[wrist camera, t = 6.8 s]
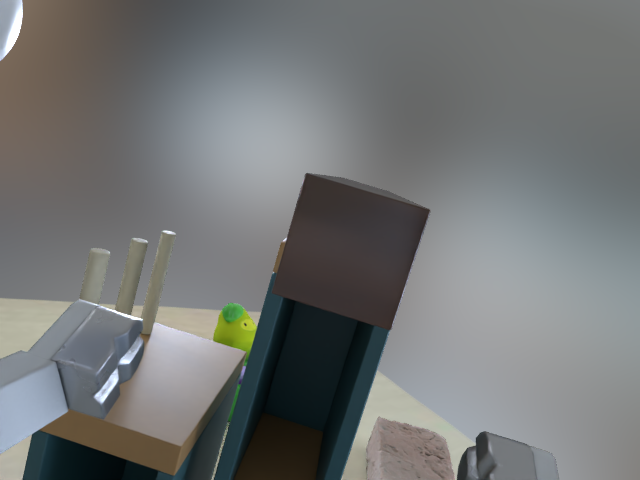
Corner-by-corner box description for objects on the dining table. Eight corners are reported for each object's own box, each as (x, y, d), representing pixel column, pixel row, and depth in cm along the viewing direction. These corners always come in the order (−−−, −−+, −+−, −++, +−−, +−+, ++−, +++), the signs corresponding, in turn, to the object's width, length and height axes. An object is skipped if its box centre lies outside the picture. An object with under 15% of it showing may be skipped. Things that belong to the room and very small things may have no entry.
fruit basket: (233, 432, 50) (260, 336, 49) (171, 396, 54) (195, 305, 52) (284, 398, 61) (308, 318, 59) (229, 369, 64) (251, 292, 63)
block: (391, 331, 13) (431, 209, 12) (270, 293, 13) (305, 172, 13) (374, 236, 35) (388, 191, 34) (329, 223, 35) (342, 177, 34)
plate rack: (247, 782, 23) (411, 290, 19) (-26, 680, 24) (79, 188, 20) (287, 578, 35) (393, 248, 31) (103, 514, 36) (185, 185, 32)
